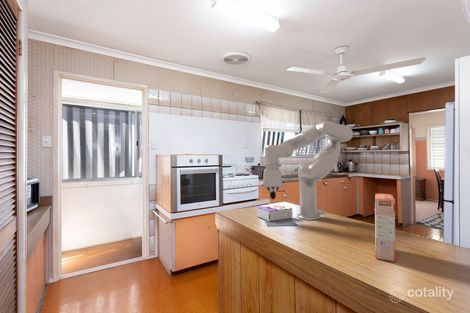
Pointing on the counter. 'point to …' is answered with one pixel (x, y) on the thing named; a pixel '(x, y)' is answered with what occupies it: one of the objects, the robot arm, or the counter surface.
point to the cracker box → (385, 227)
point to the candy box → (274, 212)
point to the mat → (281, 222)
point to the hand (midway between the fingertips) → (272, 198)
